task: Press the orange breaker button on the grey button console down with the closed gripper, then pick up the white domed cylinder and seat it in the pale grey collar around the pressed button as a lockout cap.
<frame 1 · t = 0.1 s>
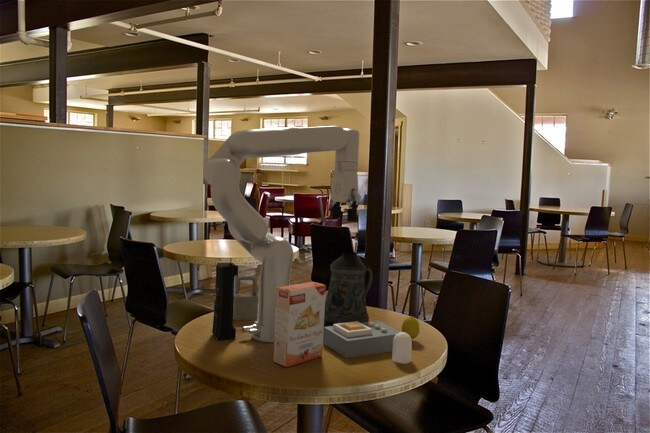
hand: (343, 219, 173), 37 cm above the table, tool pointing down, fingers open, 9 cm apart
white domed cylinder: (401, 360, 149), on the table
grey button console: (362, 346, 159), on the table
breaker button: (352, 329, 157), point 5 cm above the table, slide at 0.0 cm
cracker box: (298, 360, 146), on the table
padlock: (245, 319, 183), on the table
beer stein: (345, 324, 182), on the table
black rectangular column: (223, 336, 163), on the table
lemon: (409, 341, 167), on the table
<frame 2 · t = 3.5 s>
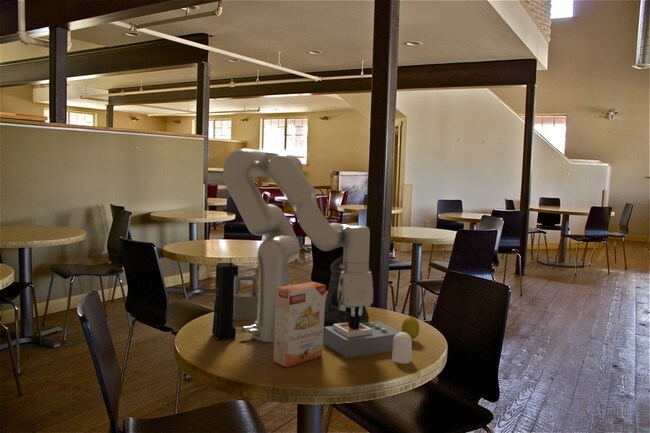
hand: (353, 327, 157), 6 cm above the table, tool pointing down, fingers closed
breaker button: (352, 332, 157), point 5 cm above the table, slide at 0.9 cm, touching gripper
everything else where it was.
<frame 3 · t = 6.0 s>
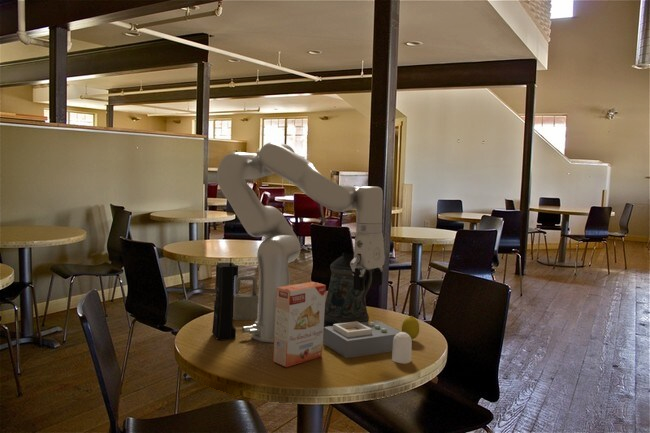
hand: (367, 287, 154), 19 cm above the table, tool pointing down, fingers open, 9 cm apart
breaker button: (352, 335, 157), point 4 cm above the table, slide at 1.8 cm
everything else where it was.
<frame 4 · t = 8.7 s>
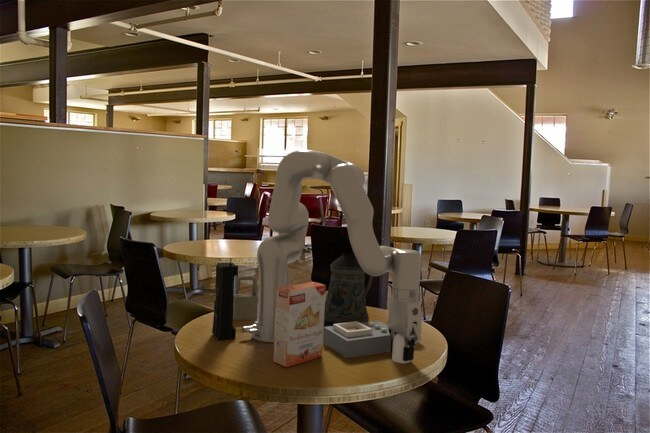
hand: (401, 356, 149), 1 cm above the table, tool pointing down, fingers closed on white domed cylinder, 5 cm apart
white domed cylinder: (401, 360, 149), on the table, touching gripper
everything else where it was.
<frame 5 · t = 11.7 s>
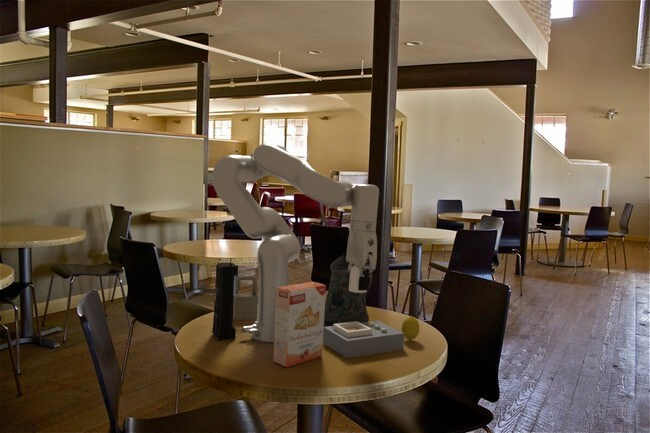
hand: (357, 287, 155), 19 cm above the table, tool pointing down, fingers closed on white domed cylinder, 5 cm apart
white domed cylinder: (357, 291, 155), point 17 cm above the table, touching gripper
everything else where it was.
when the fingers open (7 cm above the table, at t = 14.6 s): white domed cylinder drops 1 cm, resting on grey button console.
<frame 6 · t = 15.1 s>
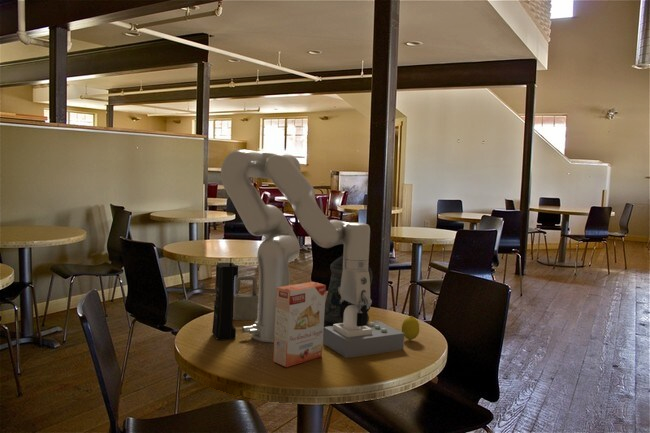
hand: (352, 321, 157), 8 cm above the table, tool pointing down, fingers open, 9 cm apart
white domed cylinder: (351, 332, 157), point 5 cm above the table, touching grey button console
breaker button: (352, 337, 157), point 3 cm above the table, slide at 2.2 cm
everything else where it was.
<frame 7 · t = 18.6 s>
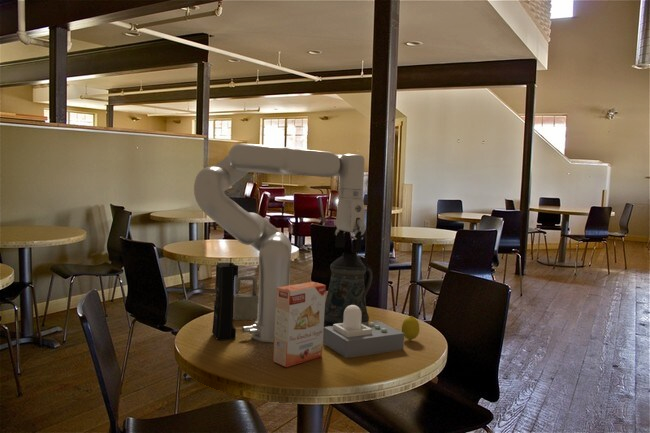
hand: (348, 249, 163), 28 cm above the table, tool pointing down, fingers open, 9 cm apart
nothing on the table moved.
at the end: breaker button slide at 2.2 cm; white domed cylinder 0.1 cm from the target spot on the grey button console, point 4.8 cm above the grey button console's base; white domed cylinder tilted 0° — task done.
